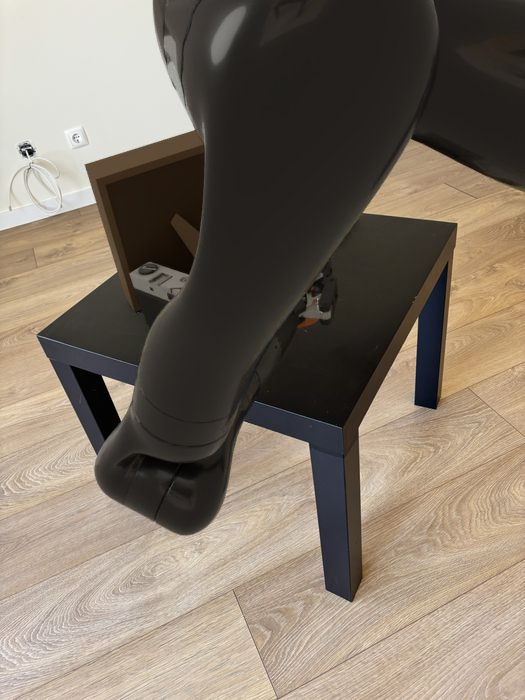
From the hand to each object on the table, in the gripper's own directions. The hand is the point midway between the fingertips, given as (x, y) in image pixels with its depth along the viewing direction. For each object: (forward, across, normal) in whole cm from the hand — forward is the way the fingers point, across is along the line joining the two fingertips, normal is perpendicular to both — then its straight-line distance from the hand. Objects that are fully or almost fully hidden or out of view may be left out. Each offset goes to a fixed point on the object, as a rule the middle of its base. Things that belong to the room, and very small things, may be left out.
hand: (299, 262), depth 65 cm
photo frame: (+10, +22, +14) cm, 28 cm away
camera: (+2, +20, +14) cm, 24 cm away
